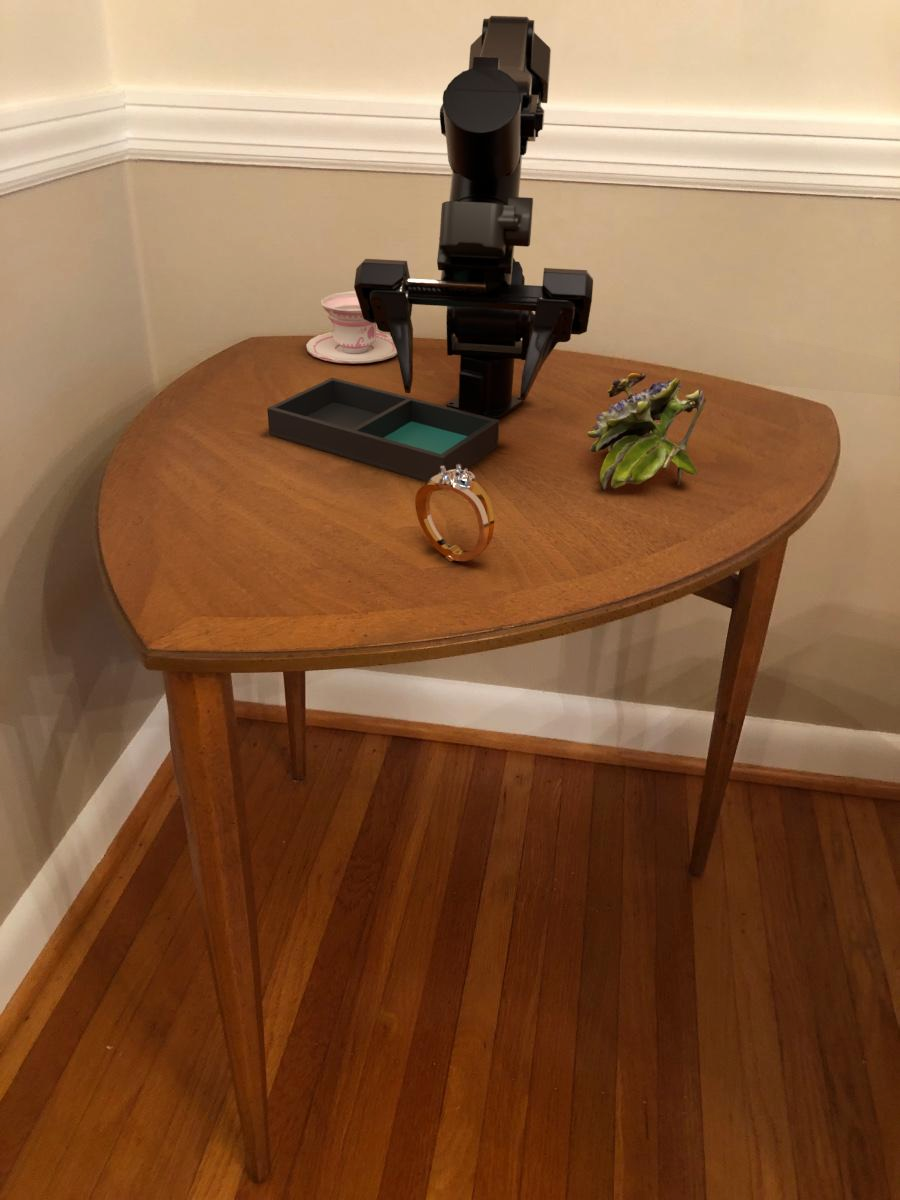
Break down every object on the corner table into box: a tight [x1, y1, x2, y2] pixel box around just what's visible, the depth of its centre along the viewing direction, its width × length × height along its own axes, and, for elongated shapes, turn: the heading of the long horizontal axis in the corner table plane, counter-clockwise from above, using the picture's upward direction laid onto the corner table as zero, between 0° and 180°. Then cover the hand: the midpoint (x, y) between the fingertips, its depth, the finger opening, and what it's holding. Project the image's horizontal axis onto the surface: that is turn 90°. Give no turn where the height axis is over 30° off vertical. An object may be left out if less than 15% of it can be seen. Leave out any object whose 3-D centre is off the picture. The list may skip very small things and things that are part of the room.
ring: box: [414, 464, 495, 562], centre depth 74 cm, size 7×3×8 cm, turn 47°
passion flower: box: [587, 372, 707, 491], centre depth 88 cm, size 11×11×12 cm
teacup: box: [305, 290, 398, 365], centre depth 117 cm, size 12×12×6 cm
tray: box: [266, 377, 500, 483], centre depth 95 cm, size 11×21×3 cm, turn 59°
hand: (464, 394), depth 74 cm, fingers open, 9 cm apart
